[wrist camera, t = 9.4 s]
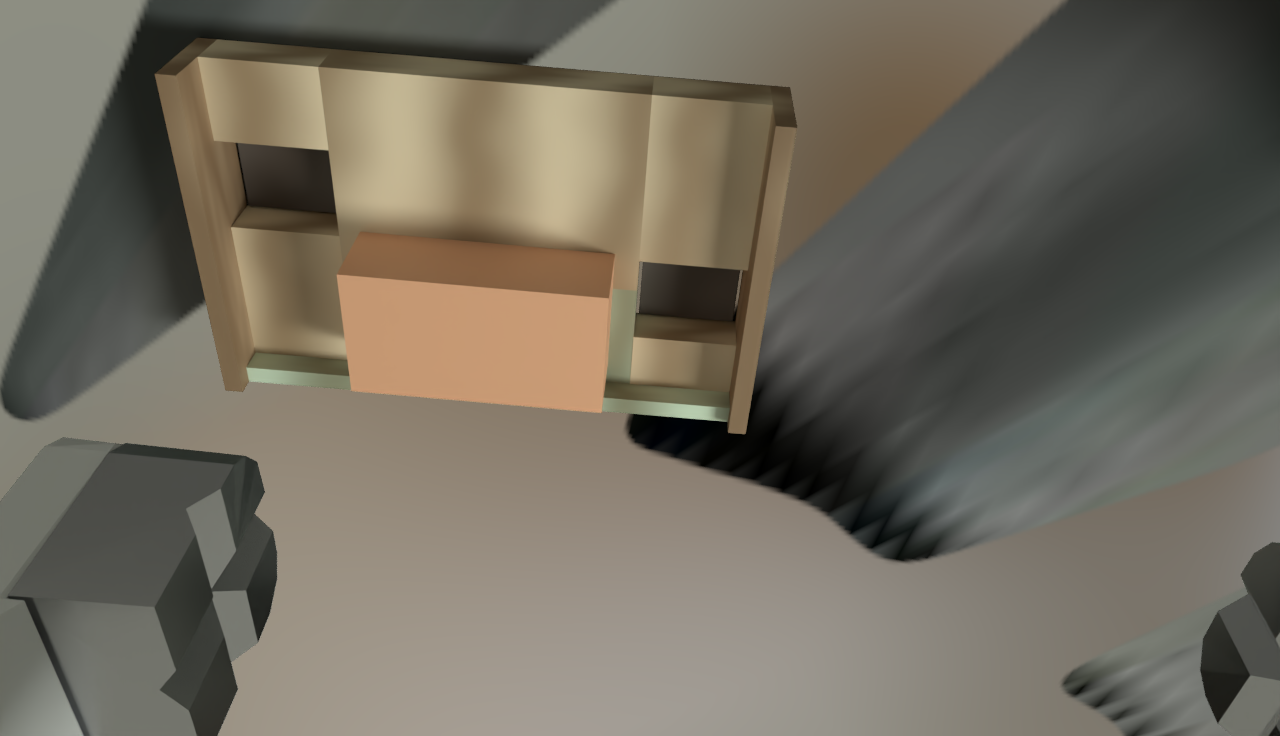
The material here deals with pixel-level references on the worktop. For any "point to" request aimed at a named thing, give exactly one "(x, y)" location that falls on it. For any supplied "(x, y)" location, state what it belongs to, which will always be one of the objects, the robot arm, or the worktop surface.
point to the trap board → (481, 200)
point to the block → (477, 321)
